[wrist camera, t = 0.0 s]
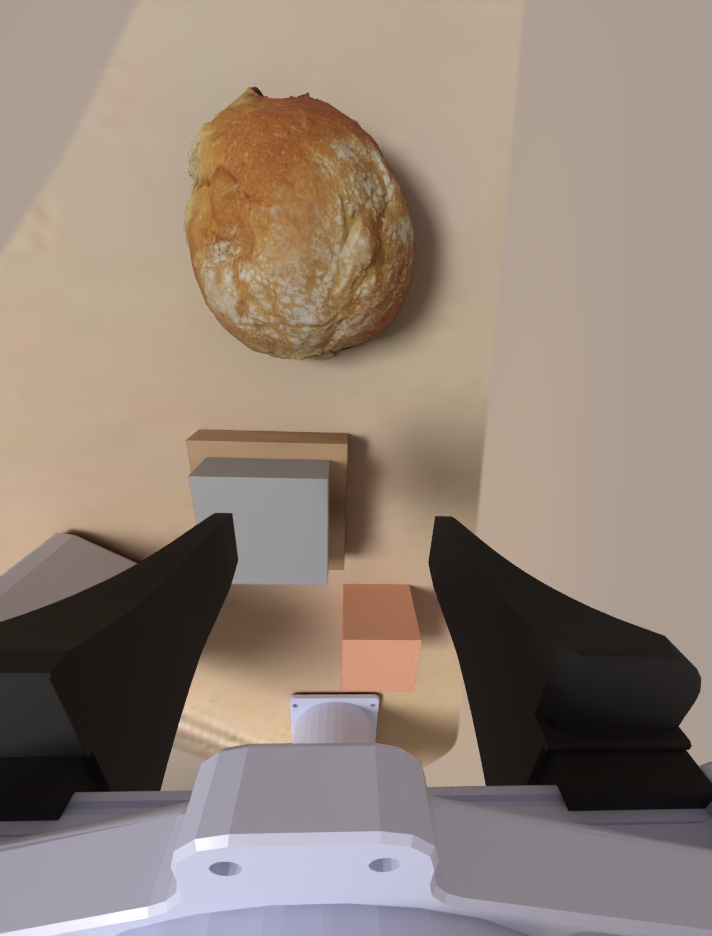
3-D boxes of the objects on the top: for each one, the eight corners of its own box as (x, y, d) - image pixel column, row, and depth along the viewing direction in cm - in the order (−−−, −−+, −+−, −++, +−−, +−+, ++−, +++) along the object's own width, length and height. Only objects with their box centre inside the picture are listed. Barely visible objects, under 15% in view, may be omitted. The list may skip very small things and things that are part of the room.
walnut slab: (344, 546, 26) (344, 569, 24) (220, 545, 25) (208, 568, 23) (347, 430, 22) (347, 444, 20) (202, 426, 22) (185, 440, 19)
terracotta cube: (402, 631, 29) (413, 691, 24) (342, 630, 29) (341, 691, 24) (408, 583, 27) (421, 640, 22) (343, 583, 27) (342, 639, 22)
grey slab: (329, 557, 23) (327, 584, 21) (221, 556, 23) (207, 584, 20) (329, 459, 20) (327, 478, 18) (206, 457, 20) (188, 476, 18)
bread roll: (263, 348, 23) (266, 428, 18) (136, 153, 15) (75, 192, 10) (405, 281, 22) (454, 347, 16) (344, 30, 14) (399, 0, 9)
